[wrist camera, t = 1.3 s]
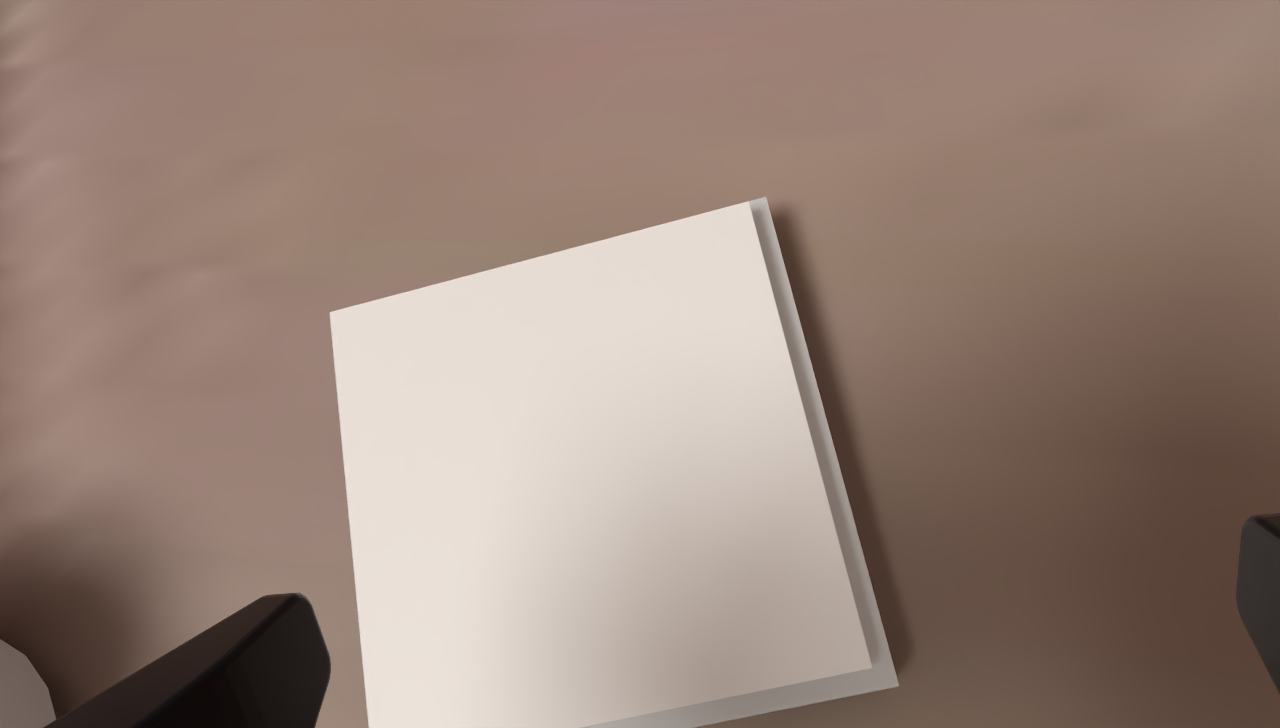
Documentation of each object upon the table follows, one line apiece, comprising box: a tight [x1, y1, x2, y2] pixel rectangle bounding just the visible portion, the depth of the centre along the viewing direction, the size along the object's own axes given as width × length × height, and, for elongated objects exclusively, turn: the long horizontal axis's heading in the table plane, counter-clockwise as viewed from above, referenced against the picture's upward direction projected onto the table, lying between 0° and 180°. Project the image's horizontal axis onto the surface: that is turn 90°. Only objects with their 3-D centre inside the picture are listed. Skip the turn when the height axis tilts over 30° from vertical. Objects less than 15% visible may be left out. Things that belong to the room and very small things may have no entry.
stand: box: [330, 197, 899, 728], centre depth 23 cm, size 12×12×3 cm
